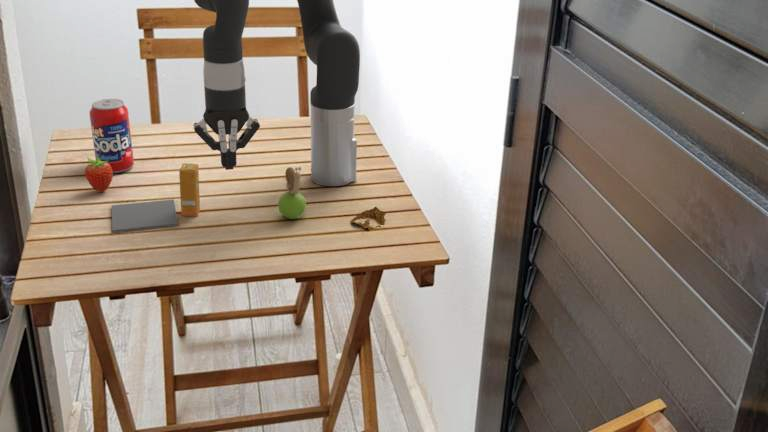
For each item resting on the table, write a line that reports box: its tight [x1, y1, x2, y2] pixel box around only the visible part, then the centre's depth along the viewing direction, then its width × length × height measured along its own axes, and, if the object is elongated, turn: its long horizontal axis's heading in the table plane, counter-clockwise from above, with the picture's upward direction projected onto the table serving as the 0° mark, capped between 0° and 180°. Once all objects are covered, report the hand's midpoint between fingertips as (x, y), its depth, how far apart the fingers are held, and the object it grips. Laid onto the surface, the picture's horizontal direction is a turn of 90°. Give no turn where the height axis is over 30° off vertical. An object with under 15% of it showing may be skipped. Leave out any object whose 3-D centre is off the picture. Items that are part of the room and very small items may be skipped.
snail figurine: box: [277, 166, 307, 220], centre depth 161 cm, size 5×6×12 cm
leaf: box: [350, 206, 386, 231], centre depth 164 cm, size 6×7×2 cm
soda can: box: [89, 98, 135, 174], centre depth 180 cm, size 8×8×15 cm
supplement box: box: [178, 162, 201, 217], centre depth 163 cm, size 3×3×10 cm
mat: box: [111, 199, 179, 234], centre depth 163 cm, size 12×11×1 cm
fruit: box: [84, 156, 114, 193], centre depth 171 cm, size 5×5×8 cm
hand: (228, 168), depth 163 cm, fingers closed
